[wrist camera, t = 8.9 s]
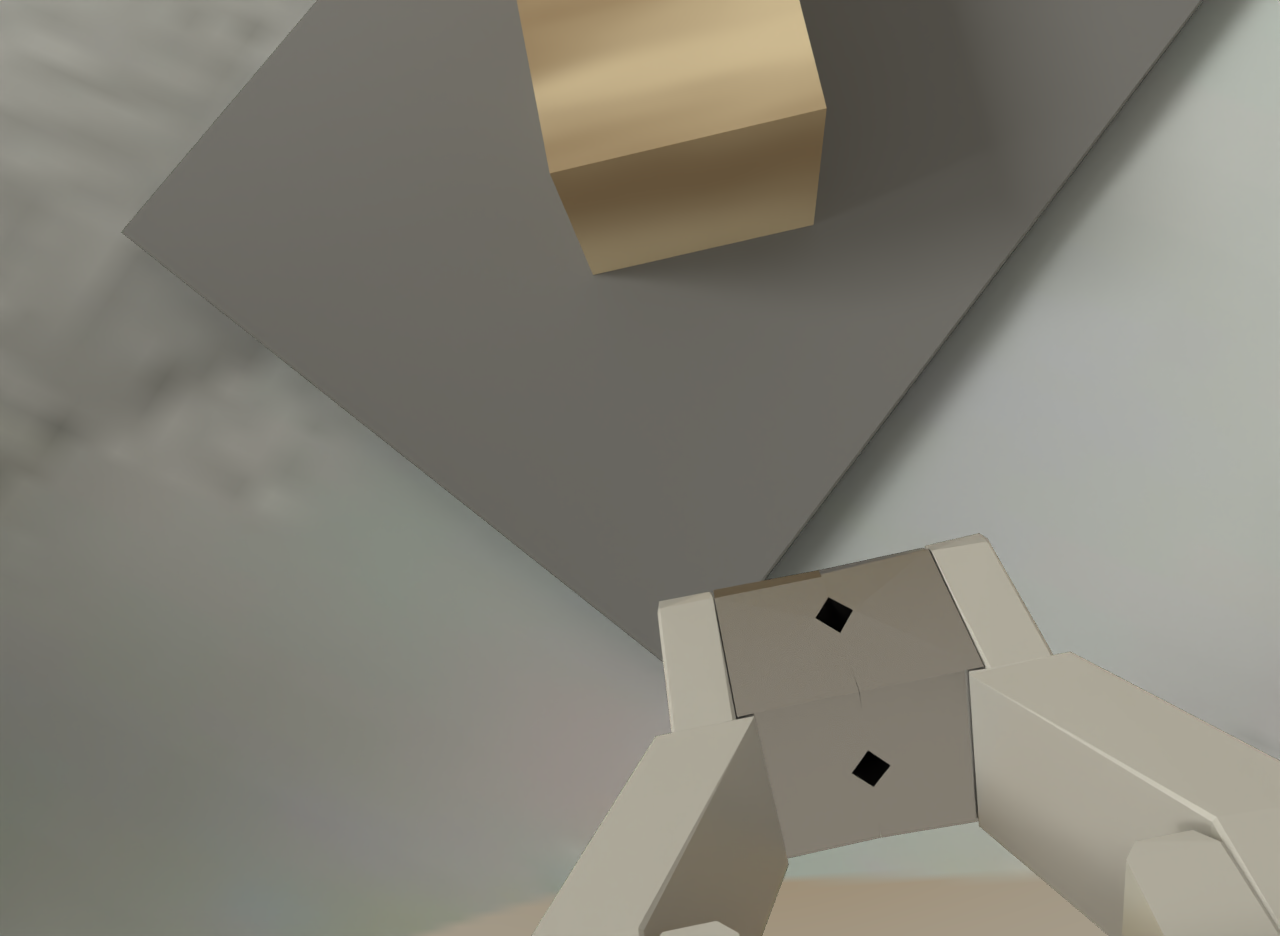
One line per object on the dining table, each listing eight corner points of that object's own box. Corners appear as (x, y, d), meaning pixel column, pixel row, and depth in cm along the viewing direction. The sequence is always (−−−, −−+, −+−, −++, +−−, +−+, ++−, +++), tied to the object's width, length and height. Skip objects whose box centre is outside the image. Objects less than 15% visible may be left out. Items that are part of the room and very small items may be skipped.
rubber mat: (688, 679, 23) (685, 679, 22) (144, 248, 26) (121, 232, 26) (1265, -82, 25) (1286, -114, 24) (685, -394, 28) (682, -432, 27)
